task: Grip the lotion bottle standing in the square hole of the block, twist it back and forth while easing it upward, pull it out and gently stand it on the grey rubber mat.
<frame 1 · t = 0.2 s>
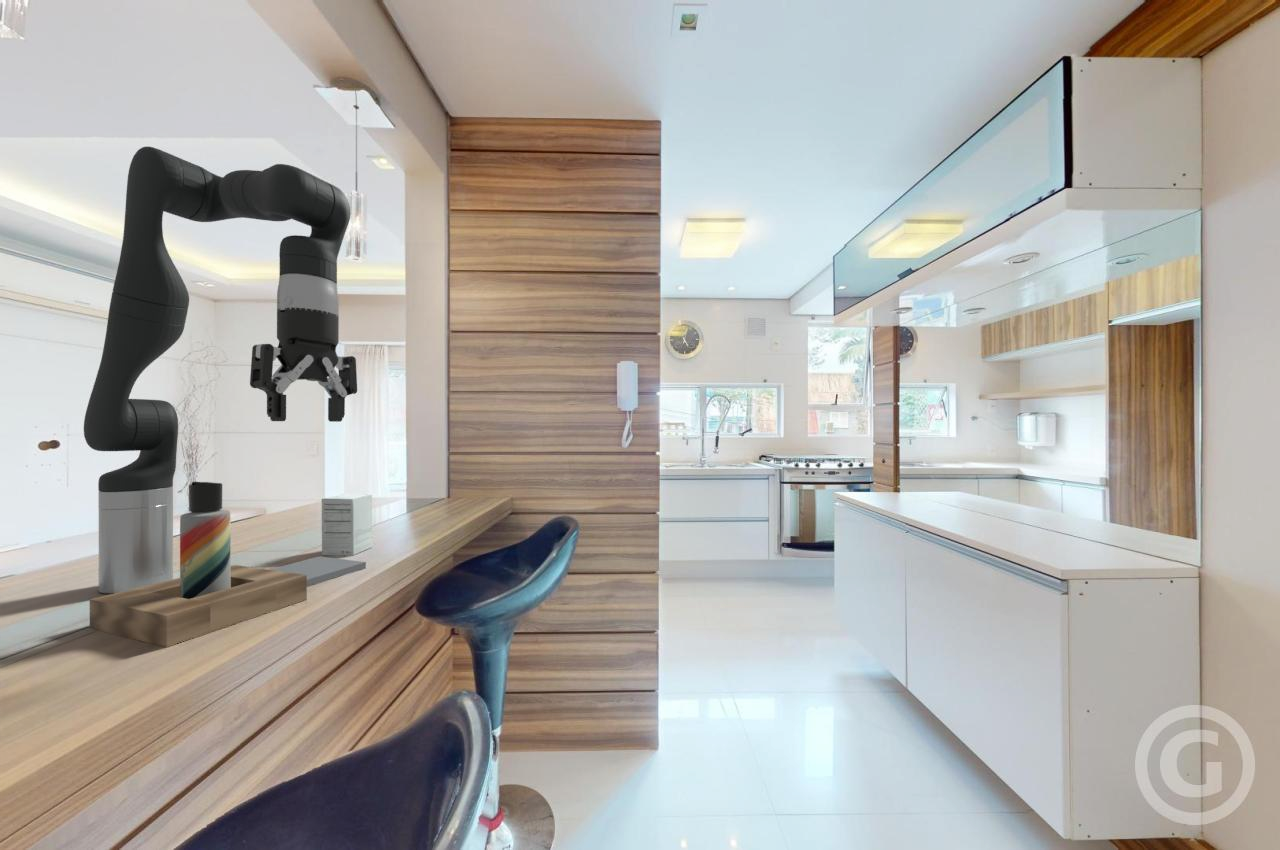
hand: (308, 421, 71), 29 cm above the countertop, tool pointing down, fingers open, 8 cm apart
rubber mat: (310, 574, 93), on the countertop
lotion bottle: (206, 614, 73), resting in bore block
supplement box: (347, 552, 110), on the countertop
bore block: (206, 612, 73), on the countertop
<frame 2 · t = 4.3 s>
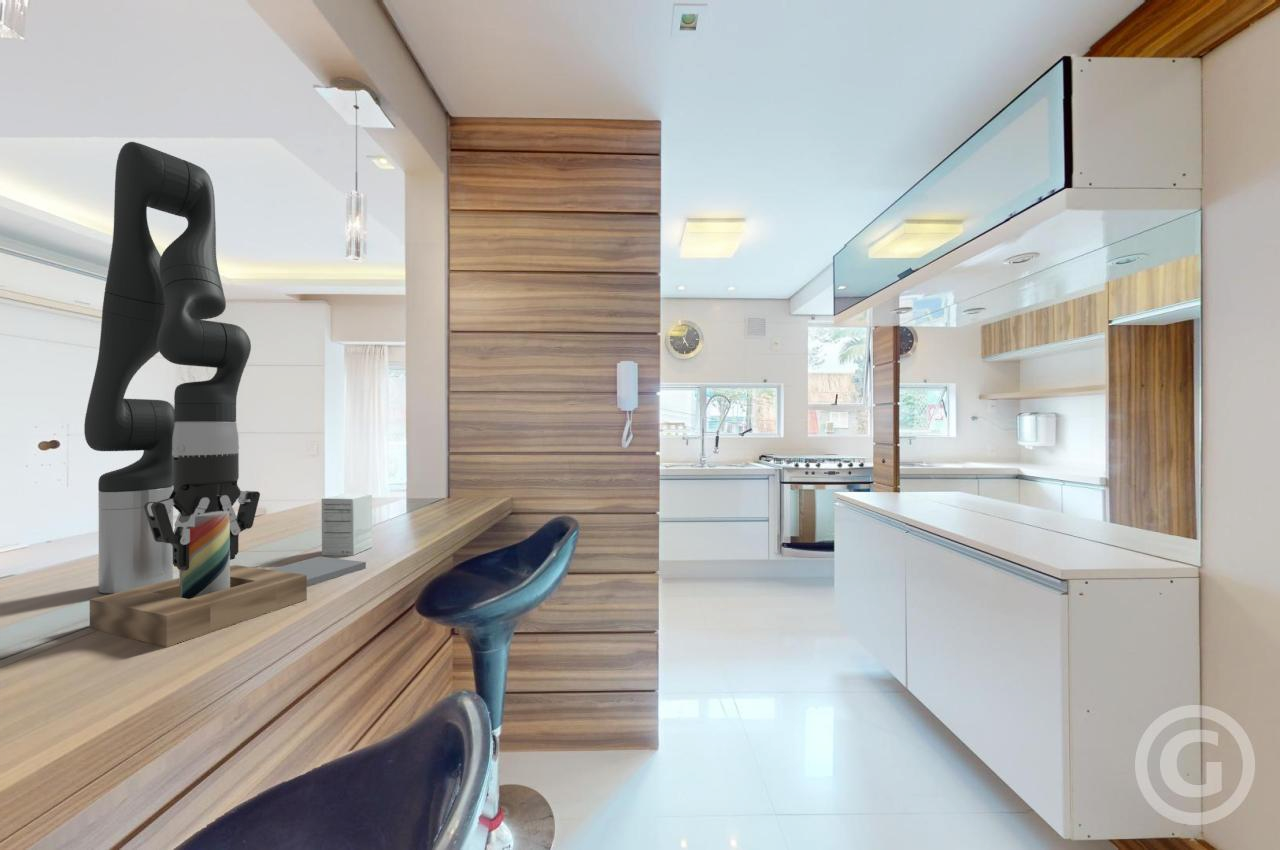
hand: (206, 563, 73), 7 cm above the countertop, tool pointing down, fingers closed on lotion bottle, 5 cm apart
lotion bottle: (205, 614, 73), resting in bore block, touching gripper
everything else where it was.
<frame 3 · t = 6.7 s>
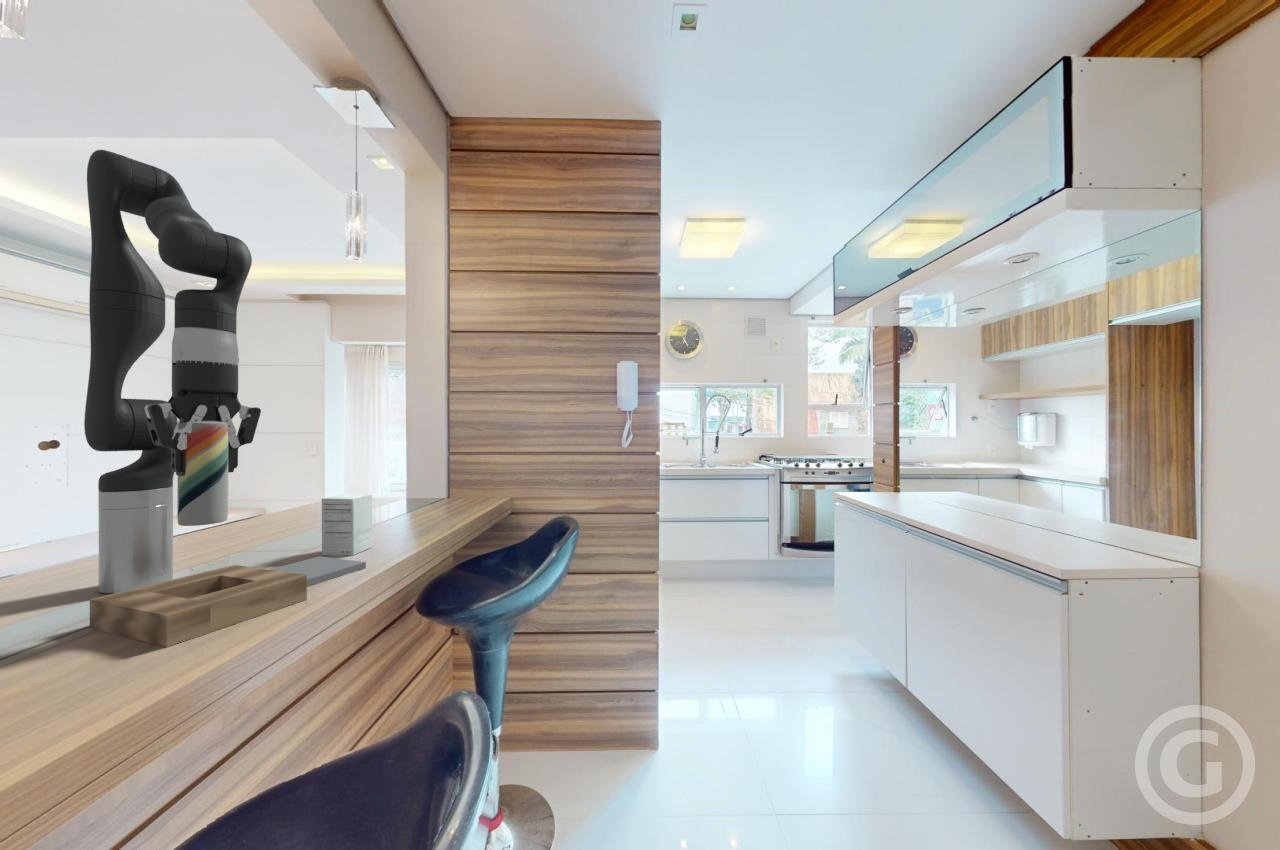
hand: (205, 473, 73), 21 cm above the countertop, tool pointing down, fingers closed on lotion bottle, 5 cm apart
lotion bottle: (203, 524, 73), point 13 cm above the countertop, touching gripper
everything else where it was.
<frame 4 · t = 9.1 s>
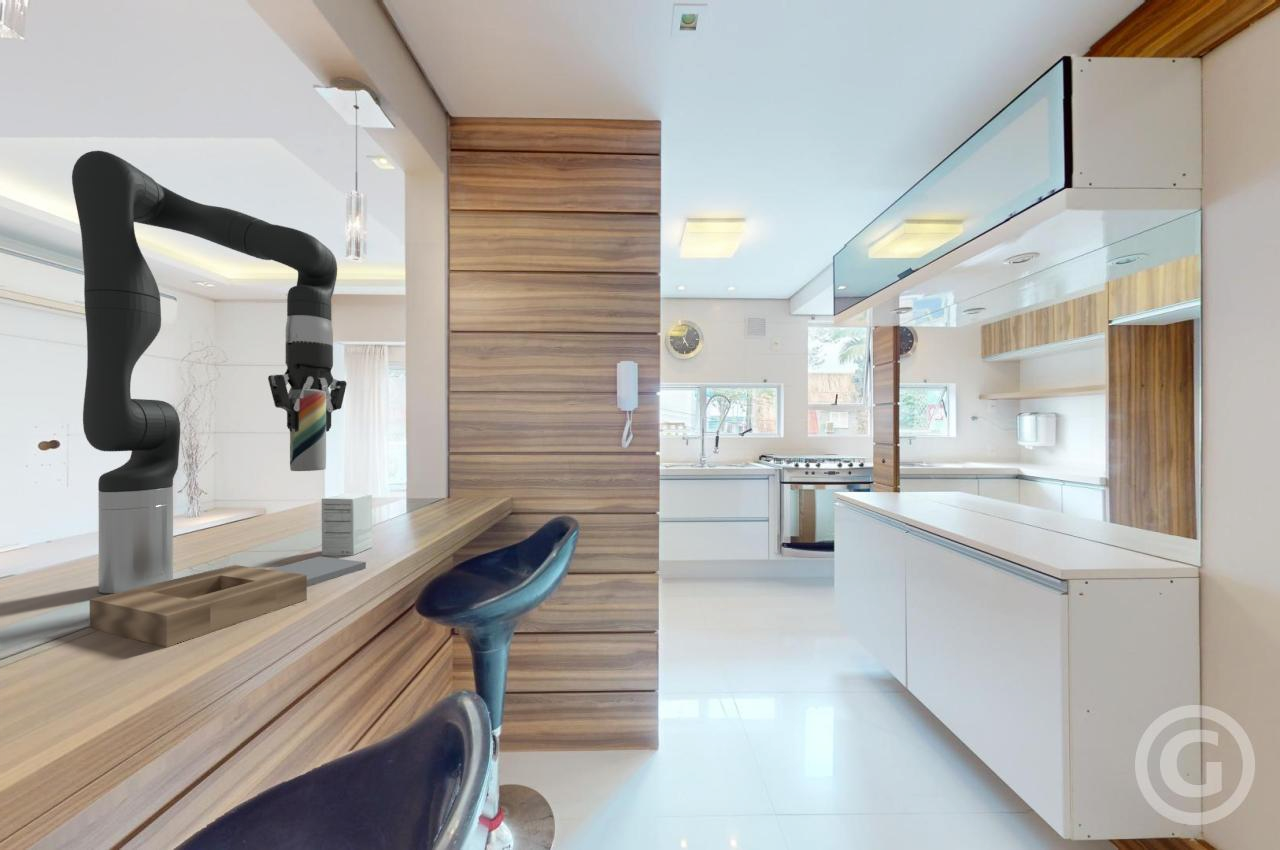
hand: (309, 431, 93), 27 cm above the countertop, tool pointing down, fingers closed on lotion bottle, 5 cm apart
lotion bottle: (308, 471, 92), point 20 cm above the countertop, touching gripper
everything else where it was.
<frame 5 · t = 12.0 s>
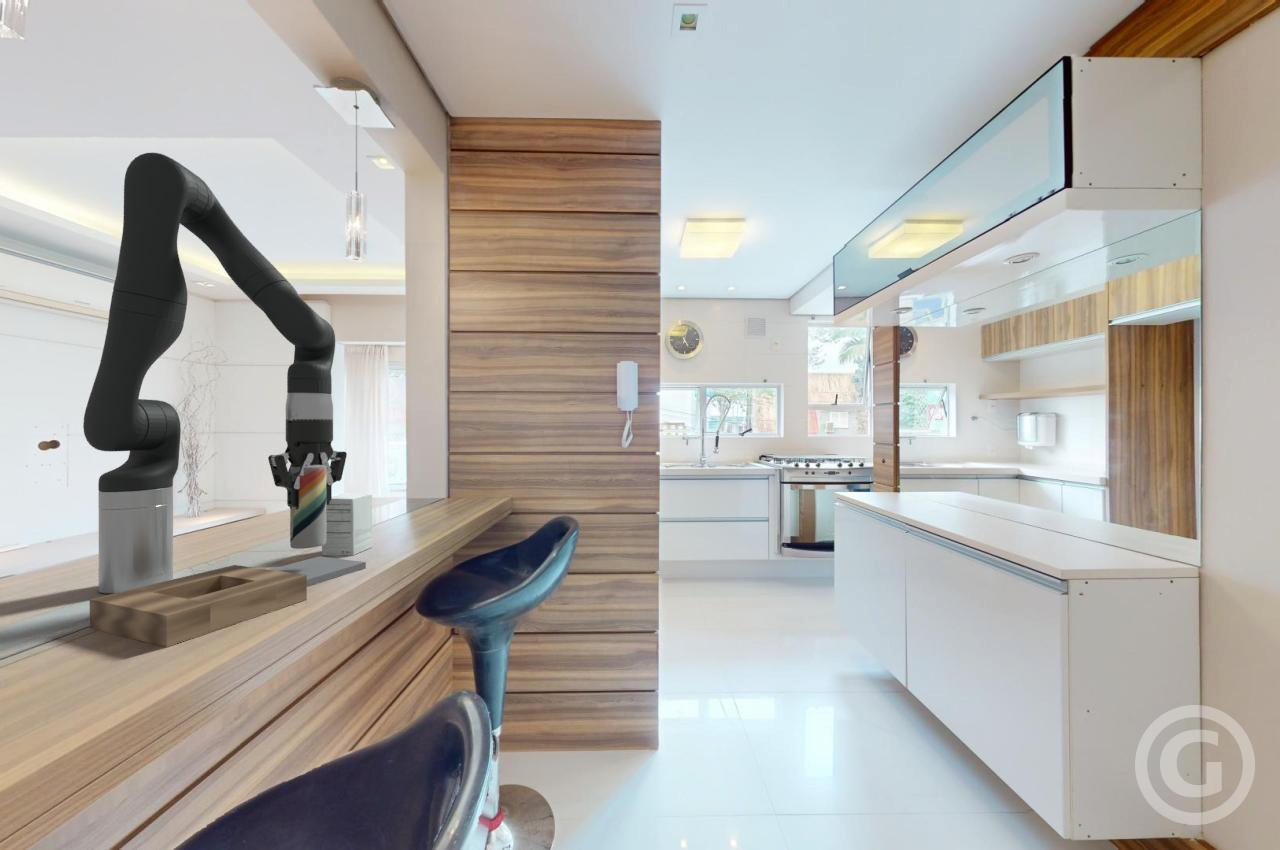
hand: (310, 506, 93), 13 cm above the countertop, tool pointing down, fingers closed on lotion bottle, 5 cm apart
lotion bottle: (308, 546, 92), point 5 cm above the countertop, touching gripper
everything else where it was.
when the fingers open (9 cm above the countertop, at t = 14.3 s): lotion bottle moves 1 cm, resting on rubber mat.
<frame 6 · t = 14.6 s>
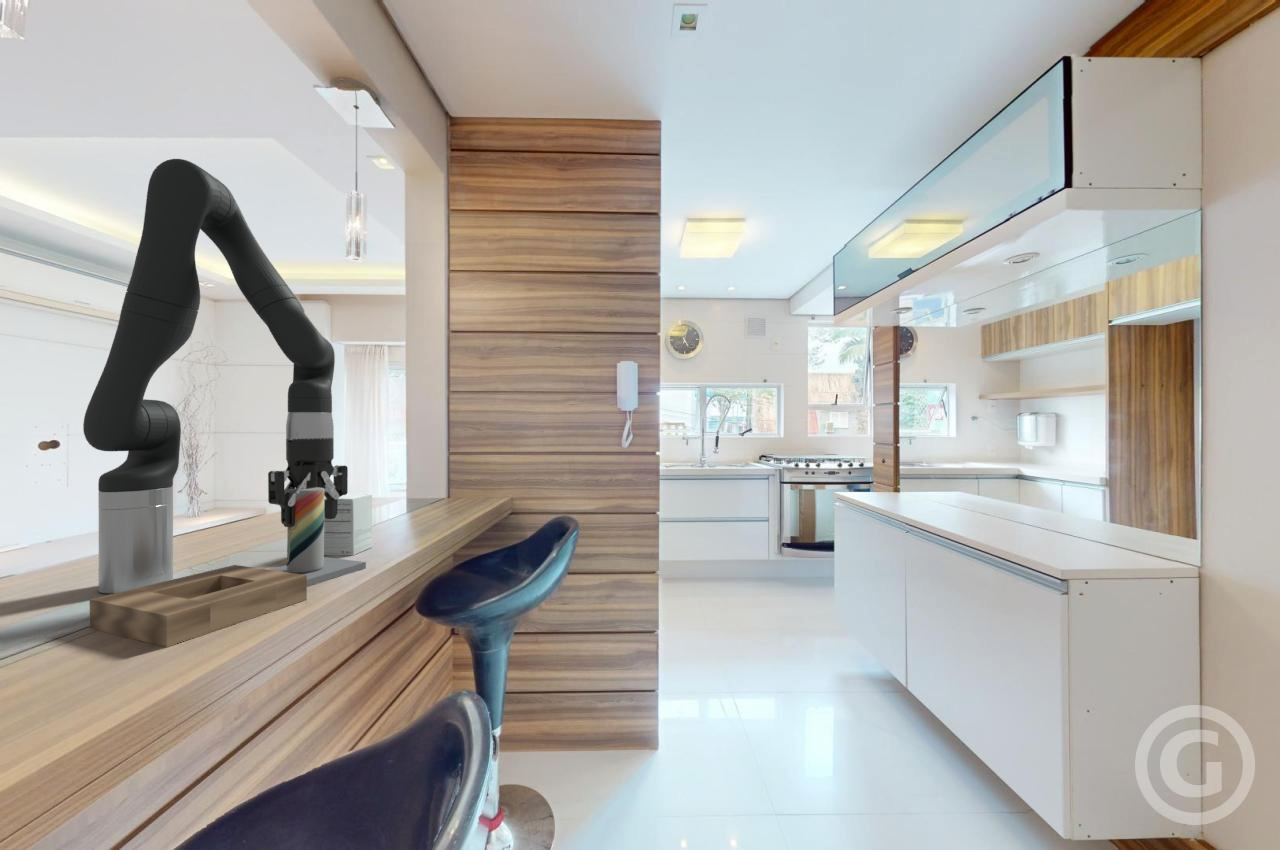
hand: (310, 522, 93), 10 cm above the countertop, tool pointing down, fingers open, 7 cm apart
lotion bottle: (305, 570, 91), point 1 cm above the countertop, touching gripper, rubber mat
everything else where it was.
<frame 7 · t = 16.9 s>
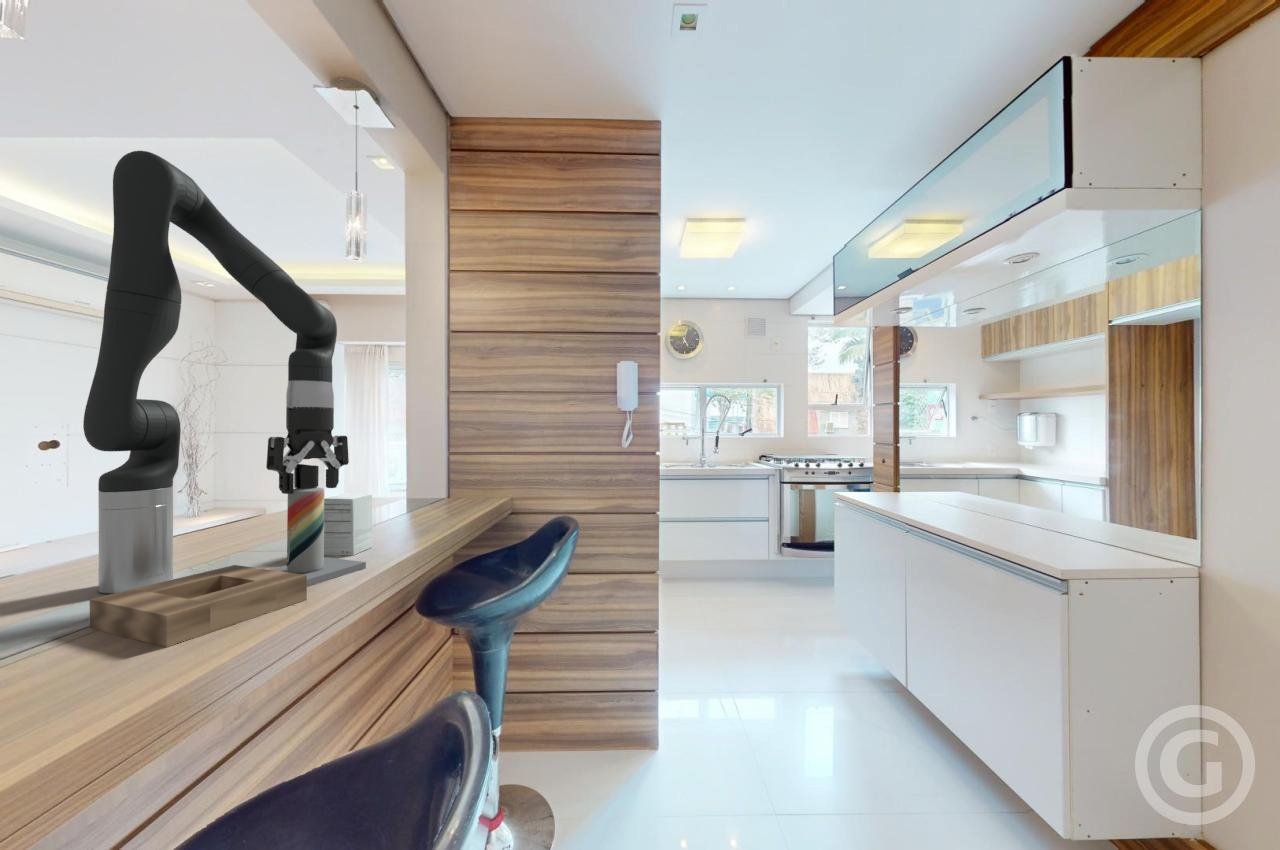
hand: (310, 490, 93), 16 cm above the countertop, tool pointing down, fingers open, 8 cm apart
lotion bottle: (305, 570, 91), point 1 cm above the countertop, touching rubber mat
everything else where it was.
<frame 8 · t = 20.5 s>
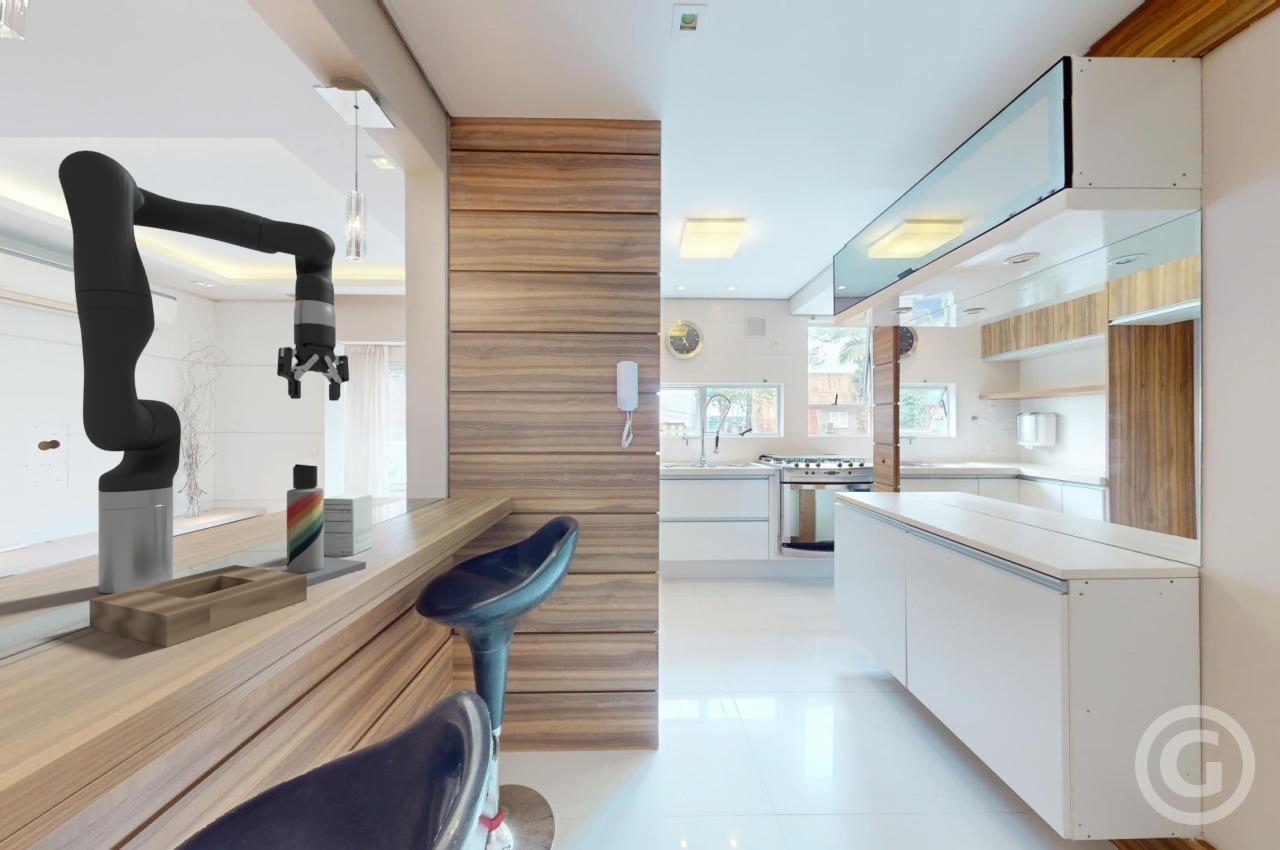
hand: (315, 399, 105), 34 cm above the countertop, tool pointing down, fingers open, 8 cm apart
nothing on the countertop moved.
at the end: lotion bottle inside the target area on the rubber mat (1.2 cm from its centre), point 1.0 cm above the rubber mat's base; lotion bottle tilted 0°; lotion bottle touching rubber mat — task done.
